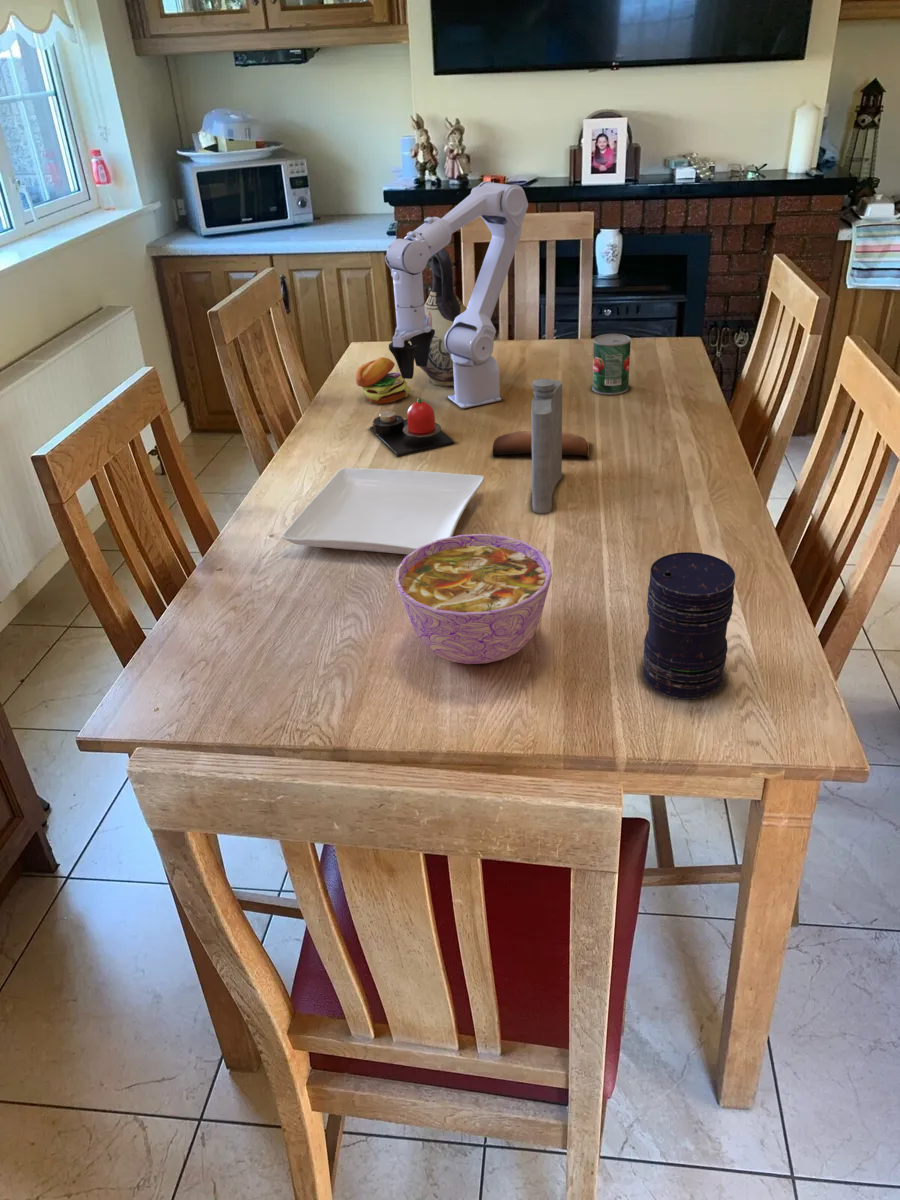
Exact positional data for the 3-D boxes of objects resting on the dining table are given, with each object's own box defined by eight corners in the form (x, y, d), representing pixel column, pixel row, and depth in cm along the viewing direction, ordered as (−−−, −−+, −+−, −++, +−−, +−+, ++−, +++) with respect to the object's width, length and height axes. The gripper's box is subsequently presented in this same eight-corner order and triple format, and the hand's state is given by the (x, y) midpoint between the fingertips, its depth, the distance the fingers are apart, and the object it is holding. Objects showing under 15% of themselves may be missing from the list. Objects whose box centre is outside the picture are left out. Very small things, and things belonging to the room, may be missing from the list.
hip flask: (550, 514, 153) (550, 399, 143) (526, 512, 154) (524, 398, 144) (562, 473, 166) (563, 365, 156) (540, 472, 167) (539, 365, 157)
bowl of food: (371, 649, 123) (362, 576, 117) (475, 589, 135) (471, 519, 129) (479, 713, 111) (474, 634, 105) (583, 640, 122) (584, 566, 116)
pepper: (433, 421, 185) (431, 392, 182) (436, 431, 180) (434, 401, 177) (406, 424, 185) (404, 395, 181) (409, 434, 180) (407, 404, 177)
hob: (423, 418, 193) (422, 406, 192) (454, 443, 181) (453, 431, 179) (369, 429, 190) (368, 417, 188) (397, 456, 177) (395, 444, 176)
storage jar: (711, 649, 119) (723, 549, 111) (733, 696, 111) (748, 592, 103) (634, 654, 119) (640, 554, 111) (651, 702, 111) (659, 598, 103)
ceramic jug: (408, 375, 217) (396, 242, 201) (470, 365, 220) (463, 233, 204) (428, 398, 203) (417, 257, 187) (494, 387, 207) (489, 247, 191)
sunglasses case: (590, 440, 177) (590, 418, 171) (588, 470, 174) (588, 449, 168) (498, 438, 180) (494, 417, 175) (494, 468, 177) (490, 447, 171)
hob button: (392, 417, 188) (392, 409, 187) (398, 423, 186) (397, 414, 185) (378, 421, 187) (377, 412, 186) (383, 426, 185) (382, 417, 184)
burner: (432, 419, 187) (431, 418, 187) (446, 432, 181) (446, 430, 181) (397, 427, 184) (397, 425, 184) (411, 440, 178) (411, 438, 178)
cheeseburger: (410, 403, 200) (395, 361, 195) (364, 417, 202) (348, 375, 197) (412, 387, 209) (398, 345, 204) (368, 400, 211) (353, 359, 205)
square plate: (486, 492, 162) (486, 472, 160) (444, 571, 140) (443, 549, 138) (343, 482, 169) (340, 463, 166) (281, 556, 147) (277, 534, 144)
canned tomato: (585, 387, 203) (586, 337, 198) (615, 380, 206) (617, 331, 200) (605, 397, 197) (606, 347, 191) (635, 390, 200) (638, 340, 194)
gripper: (414, 315, 173) (419, 385, 181) (441, 295, 185) (445, 362, 192) (380, 313, 176) (386, 382, 183) (409, 294, 187) (414, 359, 194)
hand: (414, 371), depth 187 cm, fingers open, 7 cm apart
